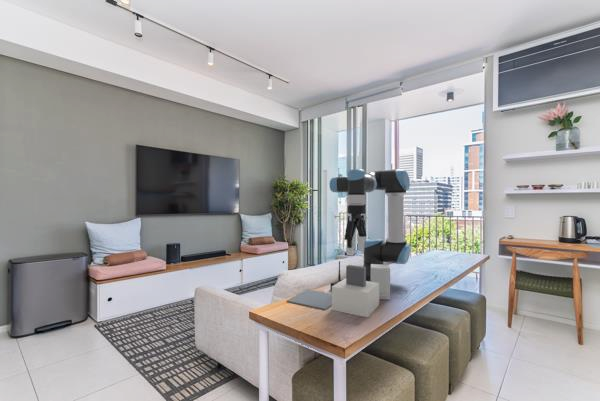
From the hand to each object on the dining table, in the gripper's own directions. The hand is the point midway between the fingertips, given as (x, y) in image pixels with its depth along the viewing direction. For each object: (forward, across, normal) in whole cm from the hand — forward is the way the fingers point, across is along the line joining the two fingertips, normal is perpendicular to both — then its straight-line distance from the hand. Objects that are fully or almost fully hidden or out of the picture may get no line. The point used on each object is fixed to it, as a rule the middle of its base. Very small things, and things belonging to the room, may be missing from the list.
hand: (355, 253), depth 129 cm
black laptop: (+24, -22, -14) cm, 36 cm away
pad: (+24, 0, -20) cm, 31 cm away
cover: (+24, 0, 0) cm, 24 cm away
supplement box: (+24, -20, +5) cm, 32 cm away
